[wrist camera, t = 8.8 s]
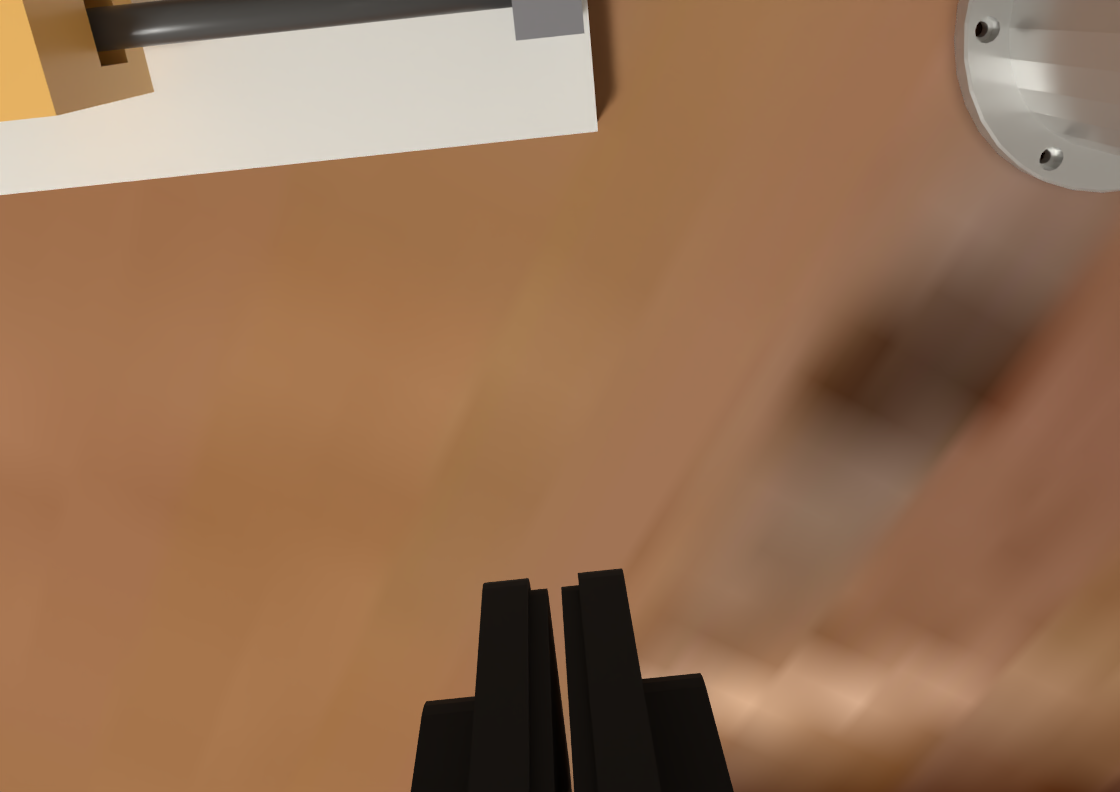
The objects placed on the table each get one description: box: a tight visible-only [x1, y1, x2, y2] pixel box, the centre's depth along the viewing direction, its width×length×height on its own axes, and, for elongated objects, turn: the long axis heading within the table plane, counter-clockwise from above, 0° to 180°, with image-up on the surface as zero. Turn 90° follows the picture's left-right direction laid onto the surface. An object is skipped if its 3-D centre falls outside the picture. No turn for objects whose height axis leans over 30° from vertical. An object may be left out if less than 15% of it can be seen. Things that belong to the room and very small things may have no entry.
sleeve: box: [0, 0, 154, 122], centre depth 27 cm, size 5×4×7 cm
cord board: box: [0, 0, 598, 195], centre depth 29 cm, size 27×10×9 cm, turn 96°
